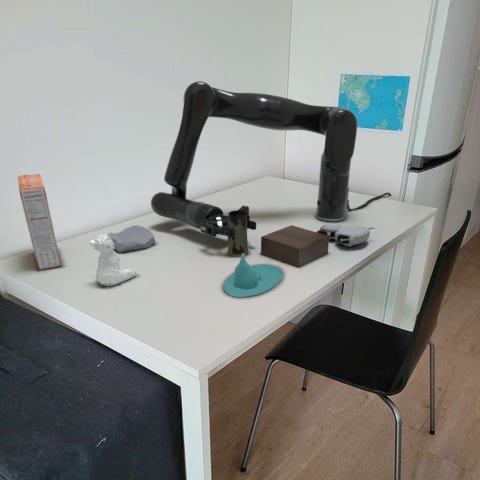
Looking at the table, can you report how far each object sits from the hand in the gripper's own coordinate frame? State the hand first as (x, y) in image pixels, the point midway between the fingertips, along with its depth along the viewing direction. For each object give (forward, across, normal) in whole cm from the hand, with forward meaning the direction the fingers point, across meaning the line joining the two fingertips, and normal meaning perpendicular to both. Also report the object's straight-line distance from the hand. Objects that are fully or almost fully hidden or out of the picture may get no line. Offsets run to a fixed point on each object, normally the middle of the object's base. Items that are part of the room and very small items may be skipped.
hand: (244, 230), depth 129 cm
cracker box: (-35, -40, +7) cm, 53 cm away
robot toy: (+14, +26, +7) cm, 30 cm away
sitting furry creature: (-11, -35, +7) cm, 37 cm away
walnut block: (+10, +9, +7) cm, 15 cm away
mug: (-2, 0, +7) cm, 7 cm away
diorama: (+14, -11, +7) cm, 19 cm away
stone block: (-27, -18, +7) cm, 33 cm away
